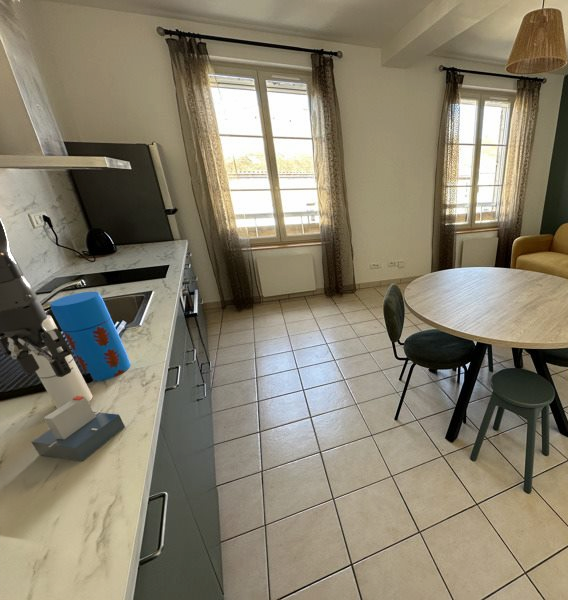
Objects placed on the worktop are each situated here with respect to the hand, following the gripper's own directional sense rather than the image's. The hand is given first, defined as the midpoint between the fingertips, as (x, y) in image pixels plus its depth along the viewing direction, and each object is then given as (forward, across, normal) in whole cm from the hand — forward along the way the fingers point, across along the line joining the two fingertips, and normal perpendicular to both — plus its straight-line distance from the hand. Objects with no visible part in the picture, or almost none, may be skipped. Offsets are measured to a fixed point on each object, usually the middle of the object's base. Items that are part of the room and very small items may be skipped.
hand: (48, 373), depth 69 cm
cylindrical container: (+20, -18, +11) cm, 29 cm away
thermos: (+20, -24, +25) cm, 40 cm away
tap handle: (+15, -1, 0) cm, 16 cm away
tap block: (+20, -1, 0) cm, 20 cm away
